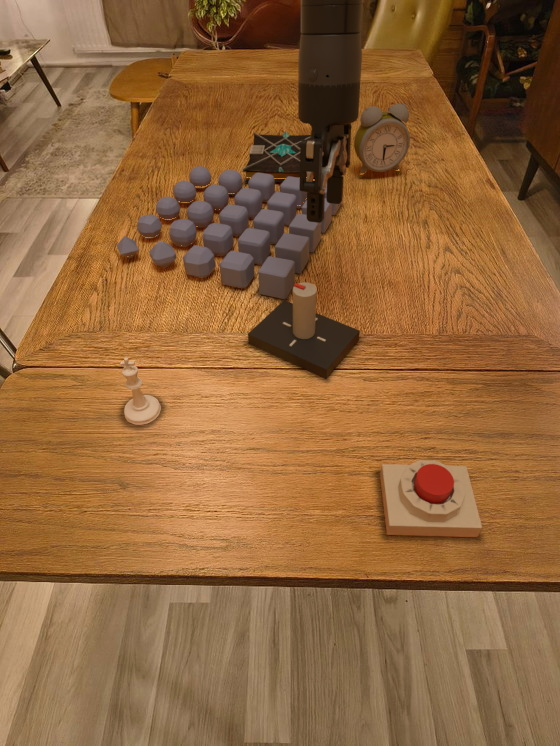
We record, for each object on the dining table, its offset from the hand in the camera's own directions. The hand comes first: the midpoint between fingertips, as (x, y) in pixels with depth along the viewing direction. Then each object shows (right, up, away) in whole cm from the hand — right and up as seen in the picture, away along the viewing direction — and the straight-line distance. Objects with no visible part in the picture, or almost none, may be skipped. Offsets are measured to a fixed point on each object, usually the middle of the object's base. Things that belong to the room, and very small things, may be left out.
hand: (325, 211), depth 72 cm
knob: (-3, -16, +7) cm, 18 cm away
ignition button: (+11, -35, -14) cm, 39 cm away
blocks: (-15, +6, +32) cm, 36 cm away
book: (-6, +28, +53) cm, 60 cm away
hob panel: (-3, -18, +8) cm, 20 cm away
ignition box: (+11, -38, -11) cm, 41 cm away
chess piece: (-25, -28, -1) cm, 38 cm away
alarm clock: (+16, +24, +49) cm, 57 cm away
